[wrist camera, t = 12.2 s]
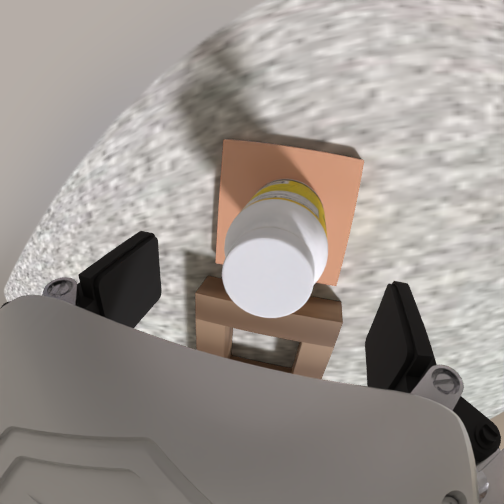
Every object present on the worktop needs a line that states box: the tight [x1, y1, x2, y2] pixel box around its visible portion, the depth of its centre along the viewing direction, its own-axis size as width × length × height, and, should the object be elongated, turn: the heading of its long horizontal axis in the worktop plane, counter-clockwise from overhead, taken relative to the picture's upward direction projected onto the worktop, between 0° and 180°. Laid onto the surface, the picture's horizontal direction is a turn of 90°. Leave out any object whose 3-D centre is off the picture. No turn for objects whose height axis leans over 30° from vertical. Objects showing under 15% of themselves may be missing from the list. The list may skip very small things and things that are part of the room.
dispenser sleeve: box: [195, 276, 343, 379], centre depth 26 cm, size 12×12×3 cm
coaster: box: [216, 139, 364, 286], centre depth 21 cm, size 10×10×1 cm
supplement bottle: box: [222, 179, 328, 318], centre depth 16 cm, size 5×5×10 cm
